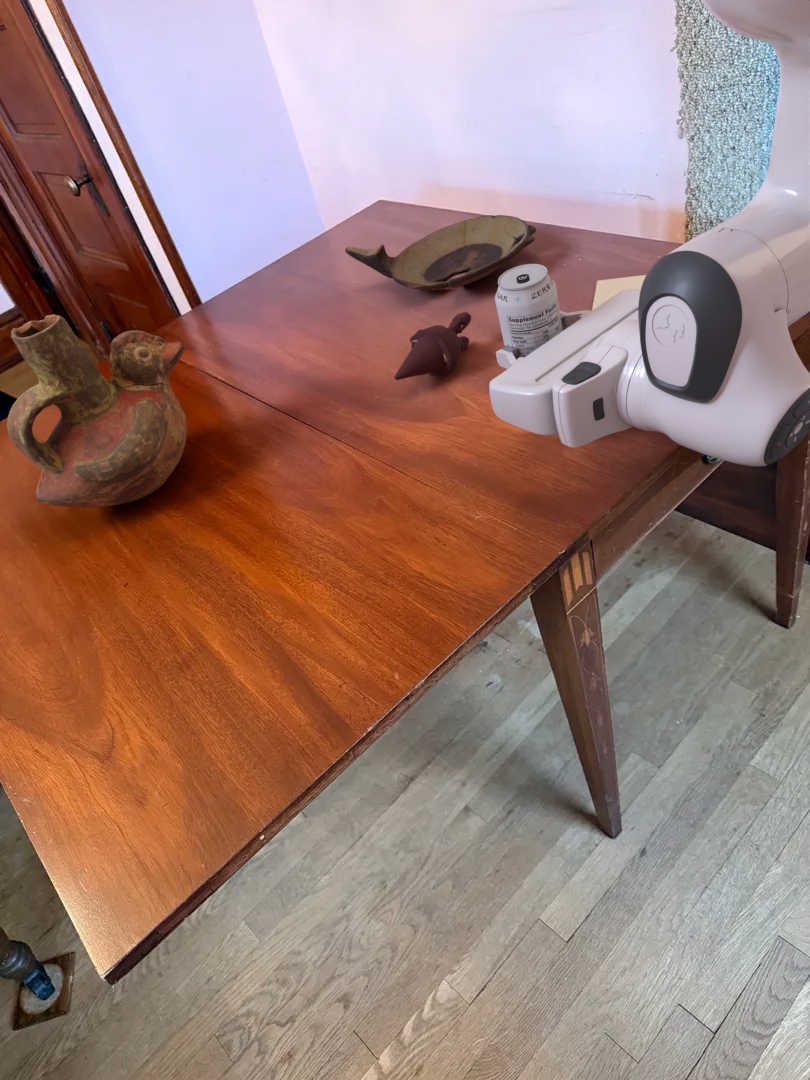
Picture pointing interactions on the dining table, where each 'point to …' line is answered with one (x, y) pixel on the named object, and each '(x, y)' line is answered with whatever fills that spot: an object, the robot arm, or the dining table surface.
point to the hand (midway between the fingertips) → (526, 337)
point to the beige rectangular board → (615, 288)
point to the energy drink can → (527, 308)
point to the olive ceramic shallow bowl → (452, 253)
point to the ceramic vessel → (99, 415)
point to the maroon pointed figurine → (435, 349)
